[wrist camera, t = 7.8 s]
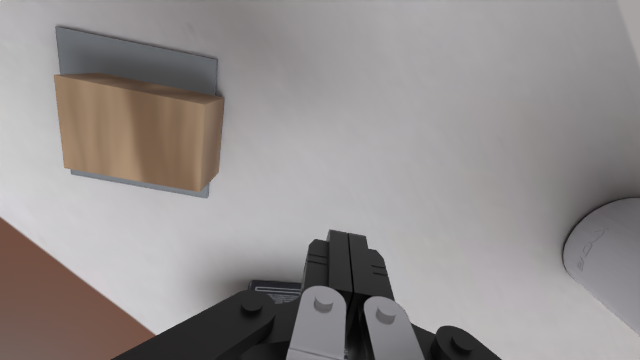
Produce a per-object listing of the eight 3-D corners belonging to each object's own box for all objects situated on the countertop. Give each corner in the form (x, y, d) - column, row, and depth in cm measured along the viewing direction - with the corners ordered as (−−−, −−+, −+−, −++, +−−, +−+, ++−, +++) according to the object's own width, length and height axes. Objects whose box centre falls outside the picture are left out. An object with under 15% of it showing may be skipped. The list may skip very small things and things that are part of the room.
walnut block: (204, 104, 19) (53, 74, 18) (199, 192, 21) (64, 167, 20) (224, 97, 23) (99, 72, 22) (218, 172, 25) (104, 151, 24)
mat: (217, 59, 22) (215, 59, 22) (208, 196, 26) (206, 198, 26) (60, 27, 21) (55, 26, 21) (74, 172, 25) (71, 174, 25)
